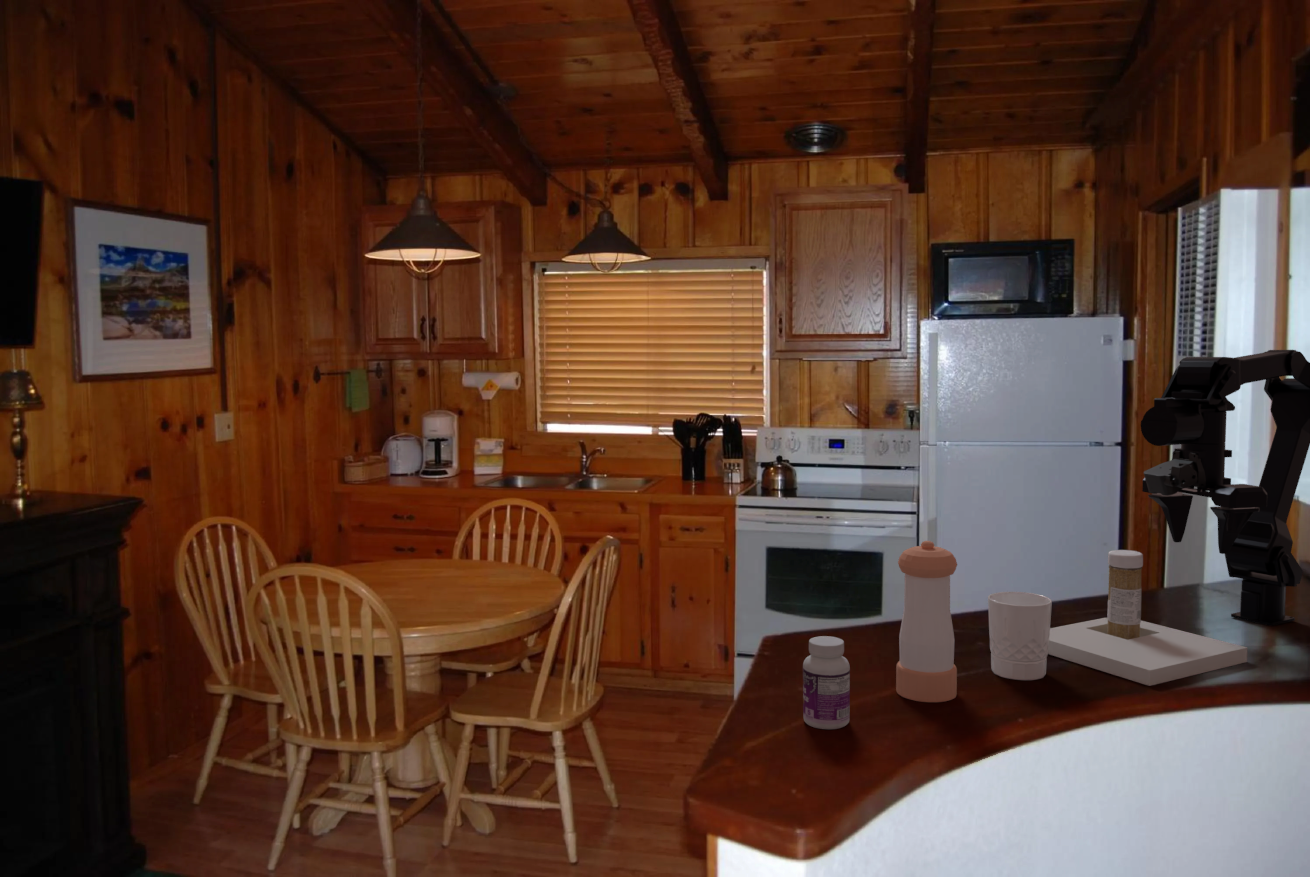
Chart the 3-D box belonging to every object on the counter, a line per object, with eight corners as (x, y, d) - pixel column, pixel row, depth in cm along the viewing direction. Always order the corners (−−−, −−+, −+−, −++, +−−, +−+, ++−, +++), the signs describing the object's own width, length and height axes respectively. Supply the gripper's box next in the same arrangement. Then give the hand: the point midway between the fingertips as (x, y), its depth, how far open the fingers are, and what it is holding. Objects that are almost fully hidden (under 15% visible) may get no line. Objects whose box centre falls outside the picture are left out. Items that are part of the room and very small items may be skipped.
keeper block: (1118, 627, 156) (1119, 614, 156) (1246, 661, 138) (1247, 647, 138) (1025, 646, 147) (1025, 633, 146) (1149, 685, 129) (1149, 670, 129)
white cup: (1049, 666, 137) (1050, 593, 137) (1051, 684, 130) (1052, 607, 129) (987, 661, 140) (988, 590, 139) (986, 679, 133) (987, 603, 132)
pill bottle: (798, 715, 120) (798, 634, 120) (842, 713, 121) (842, 633, 120) (809, 731, 115) (808, 647, 114) (855, 729, 115) (855, 646, 115)
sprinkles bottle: (1115, 637, 151) (1117, 547, 149) (1146, 644, 147) (1149, 552, 146) (1100, 643, 148) (1102, 551, 147) (1131, 650, 144) (1133, 556, 143)
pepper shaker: (946, 706, 123) (948, 548, 121) (888, 696, 126) (889, 543, 125) (963, 689, 129) (965, 539, 127) (907, 680, 133) (908, 534, 131)
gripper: (1113, 439, 157) (1110, 539, 158) (1203, 450, 139) (1199, 563, 140) (1175, 437, 159) (1172, 535, 161) (1272, 447, 141) (1268, 558, 143)
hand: (1199, 547), depth 151 cm, fingers open, 9 cm apart
